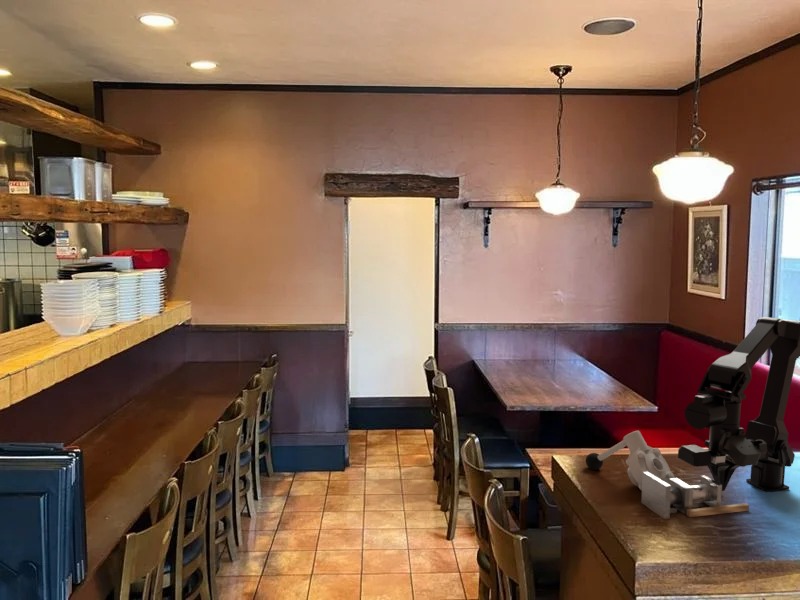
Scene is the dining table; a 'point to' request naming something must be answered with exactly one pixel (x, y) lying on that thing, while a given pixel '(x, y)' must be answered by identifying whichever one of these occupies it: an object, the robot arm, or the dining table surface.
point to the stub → (664, 495)
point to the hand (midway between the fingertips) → (721, 490)
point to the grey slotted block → (704, 492)
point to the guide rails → (717, 510)
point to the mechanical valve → (636, 459)
